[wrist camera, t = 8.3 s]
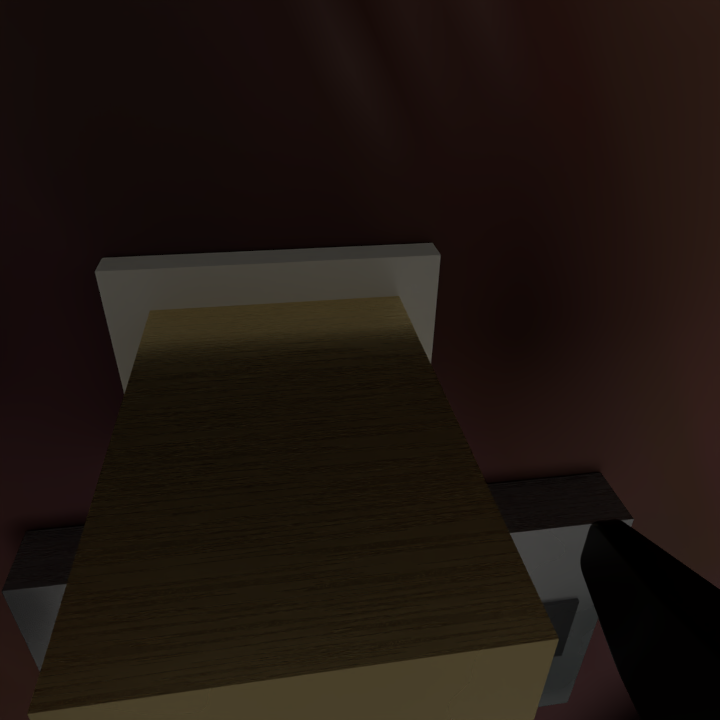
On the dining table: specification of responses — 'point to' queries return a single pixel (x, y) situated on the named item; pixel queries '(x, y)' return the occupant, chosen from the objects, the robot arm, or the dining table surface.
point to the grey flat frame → (517, 507)
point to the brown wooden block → (292, 536)
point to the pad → (264, 284)
